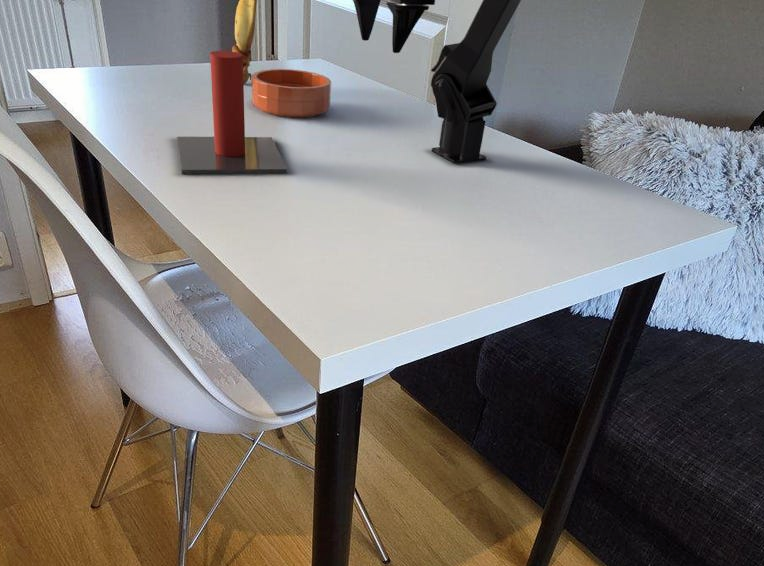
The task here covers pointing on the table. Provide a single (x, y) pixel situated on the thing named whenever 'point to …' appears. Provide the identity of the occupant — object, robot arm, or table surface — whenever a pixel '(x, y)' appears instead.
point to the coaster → (204, 160)
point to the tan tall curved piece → (245, 32)
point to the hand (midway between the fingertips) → (380, 46)
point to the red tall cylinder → (228, 103)
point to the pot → (291, 92)
